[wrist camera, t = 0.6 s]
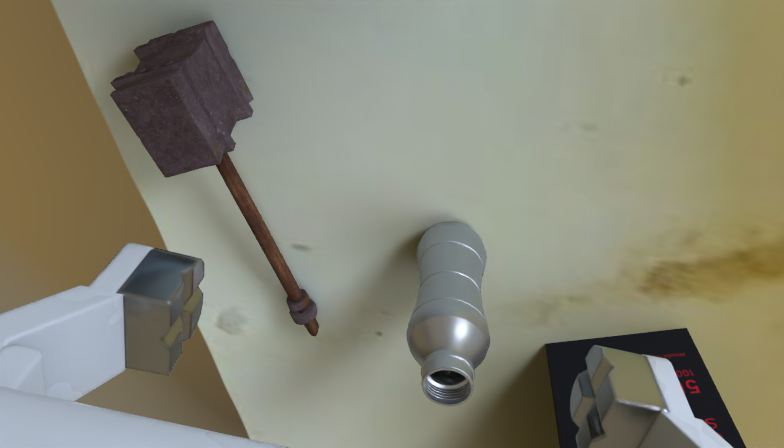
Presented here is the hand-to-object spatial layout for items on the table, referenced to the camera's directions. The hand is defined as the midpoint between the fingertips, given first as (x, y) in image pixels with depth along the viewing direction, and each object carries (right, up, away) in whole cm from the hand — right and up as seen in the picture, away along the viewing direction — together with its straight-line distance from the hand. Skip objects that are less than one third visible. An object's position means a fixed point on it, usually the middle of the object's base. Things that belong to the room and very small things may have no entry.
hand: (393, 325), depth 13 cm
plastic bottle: (+6, 0, +49) cm, 49 cm away
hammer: (-13, +5, +48) cm, 50 cm away
